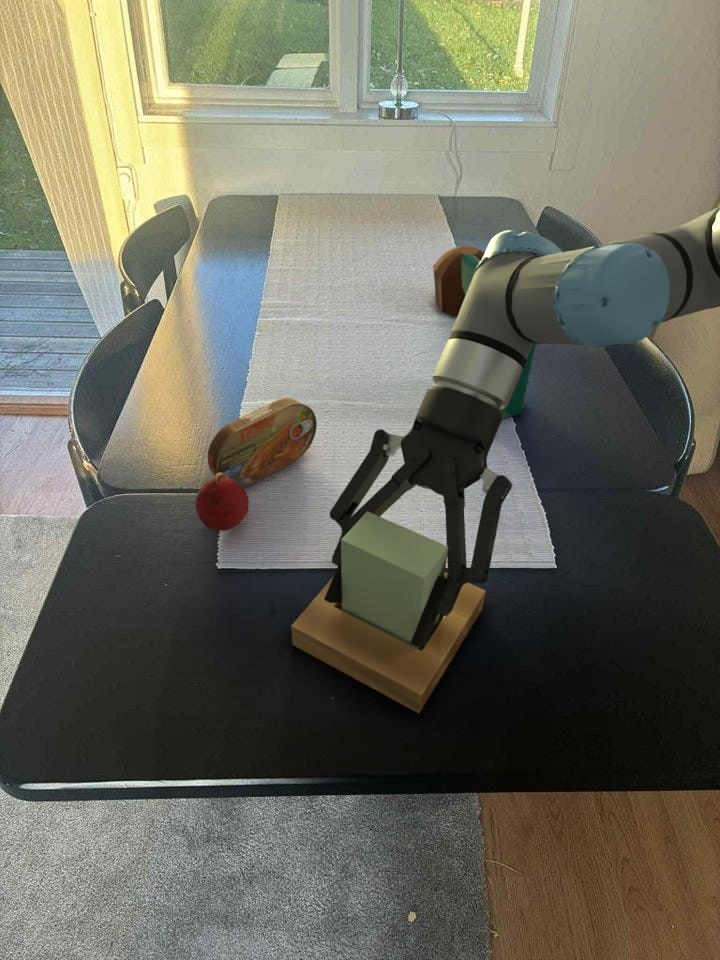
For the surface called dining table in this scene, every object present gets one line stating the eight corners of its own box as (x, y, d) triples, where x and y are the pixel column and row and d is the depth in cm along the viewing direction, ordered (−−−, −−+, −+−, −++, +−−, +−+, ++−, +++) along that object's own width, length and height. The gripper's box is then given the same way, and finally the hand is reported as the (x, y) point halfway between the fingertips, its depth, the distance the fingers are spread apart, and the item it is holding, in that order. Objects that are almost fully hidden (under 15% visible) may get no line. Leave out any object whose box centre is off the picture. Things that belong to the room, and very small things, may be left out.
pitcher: (497, 383, 105) (521, 239, 90) (528, 414, 99) (560, 265, 85) (439, 396, 102) (455, 249, 87) (467, 428, 96) (489, 277, 82)
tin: (222, 500, 84) (214, 445, 78) (208, 487, 86) (199, 432, 80) (319, 449, 92) (317, 395, 86) (303, 438, 94) (301, 385, 88)
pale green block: (365, 594, 73) (367, 510, 65) (437, 630, 70) (448, 546, 62) (341, 623, 70) (340, 539, 63) (415, 662, 67) (424, 578, 59)
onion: (233, 552, 78) (225, 499, 72) (190, 536, 79) (179, 483, 74) (260, 519, 82) (255, 466, 76) (218, 504, 83) (210, 452, 78)
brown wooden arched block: (496, 322, 119) (505, 266, 113) (431, 320, 119) (437, 264, 113) (488, 291, 128) (496, 237, 122) (428, 289, 128) (433, 235, 122)
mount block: (365, 556, 78) (366, 537, 76) (482, 609, 72) (486, 590, 70) (292, 645, 68) (290, 625, 66) (419, 713, 63) (421, 695, 61)
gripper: (580, 444, 65) (487, 669, 65) (381, 375, 73) (298, 576, 73) (575, 426, 58) (470, 679, 58) (355, 353, 66) (263, 574, 66)
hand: (374, 621), depth 65 cm, fingers closed on pale green block, 8 cm apart
